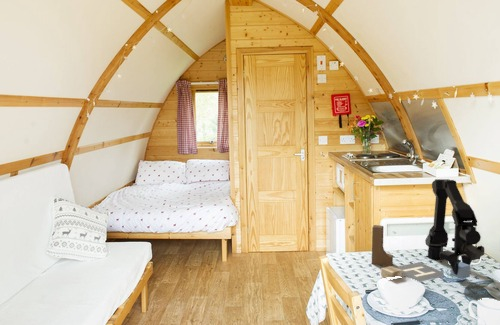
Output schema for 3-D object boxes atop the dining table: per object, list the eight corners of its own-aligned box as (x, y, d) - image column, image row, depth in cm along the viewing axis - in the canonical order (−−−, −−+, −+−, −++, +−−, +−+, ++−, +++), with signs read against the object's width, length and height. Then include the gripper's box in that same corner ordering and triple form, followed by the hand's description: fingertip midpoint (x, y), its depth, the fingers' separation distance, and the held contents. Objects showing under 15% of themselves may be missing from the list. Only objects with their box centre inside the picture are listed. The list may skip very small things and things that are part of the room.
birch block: (391, 274, 193) (391, 265, 192) (401, 279, 188) (402, 270, 187) (381, 277, 190) (381, 268, 190) (391, 281, 185) (391, 272, 184)
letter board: (419, 262, 206) (419, 262, 206) (450, 275, 190) (450, 275, 190) (389, 268, 200) (389, 267, 199) (418, 282, 183) (418, 281, 183)
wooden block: (392, 264, 206) (393, 226, 203) (391, 267, 201) (392, 229, 199) (373, 261, 209) (373, 224, 207) (371, 264, 205) (372, 227, 203)
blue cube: (459, 272, 187) (460, 261, 186) (469, 276, 182) (470, 265, 182) (451, 274, 185) (451, 263, 185) (460, 278, 181) (461, 267, 180)
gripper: (461, 245, 171) (460, 283, 173) (495, 239, 178) (493, 276, 180) (439, 238, 181) (437, 274, 183) (472, 232, 188) (470, 267, 190)
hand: (460, 273), depth 184 cm, fingers closed on blue cube, 5 cm apart
